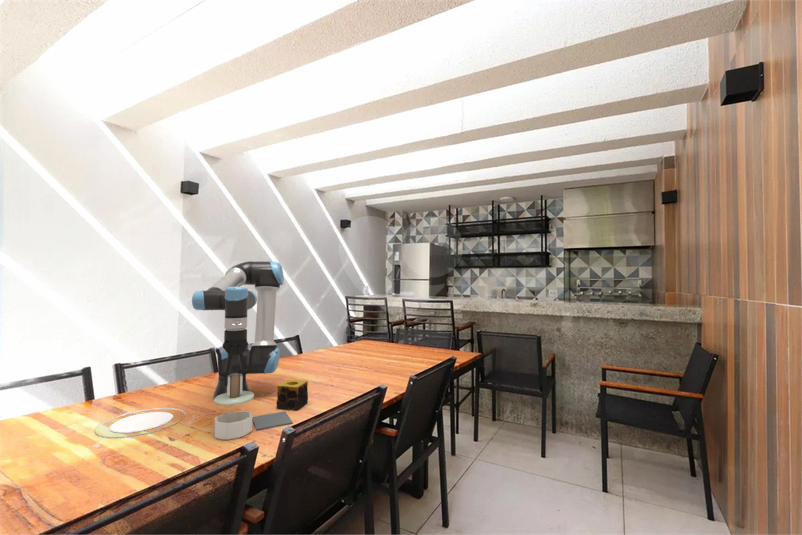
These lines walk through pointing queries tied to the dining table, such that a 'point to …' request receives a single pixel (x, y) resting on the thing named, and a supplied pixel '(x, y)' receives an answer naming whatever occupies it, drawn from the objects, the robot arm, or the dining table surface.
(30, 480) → the dining table surface
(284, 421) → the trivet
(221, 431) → the bowl
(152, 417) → the plate
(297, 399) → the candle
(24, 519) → the dining table surface
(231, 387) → the lid
